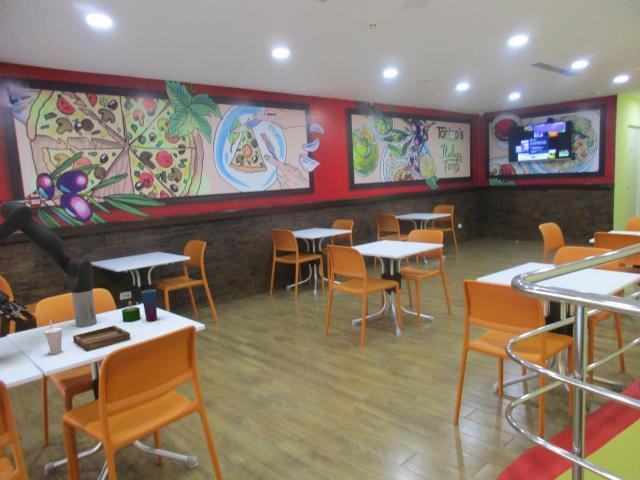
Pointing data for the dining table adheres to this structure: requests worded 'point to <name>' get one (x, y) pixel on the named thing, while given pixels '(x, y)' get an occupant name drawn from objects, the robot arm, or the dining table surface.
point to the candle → (131, 313)
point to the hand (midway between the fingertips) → (28, 321)
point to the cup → (150, 305)
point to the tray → (101, 338)
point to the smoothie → (54, 339)
